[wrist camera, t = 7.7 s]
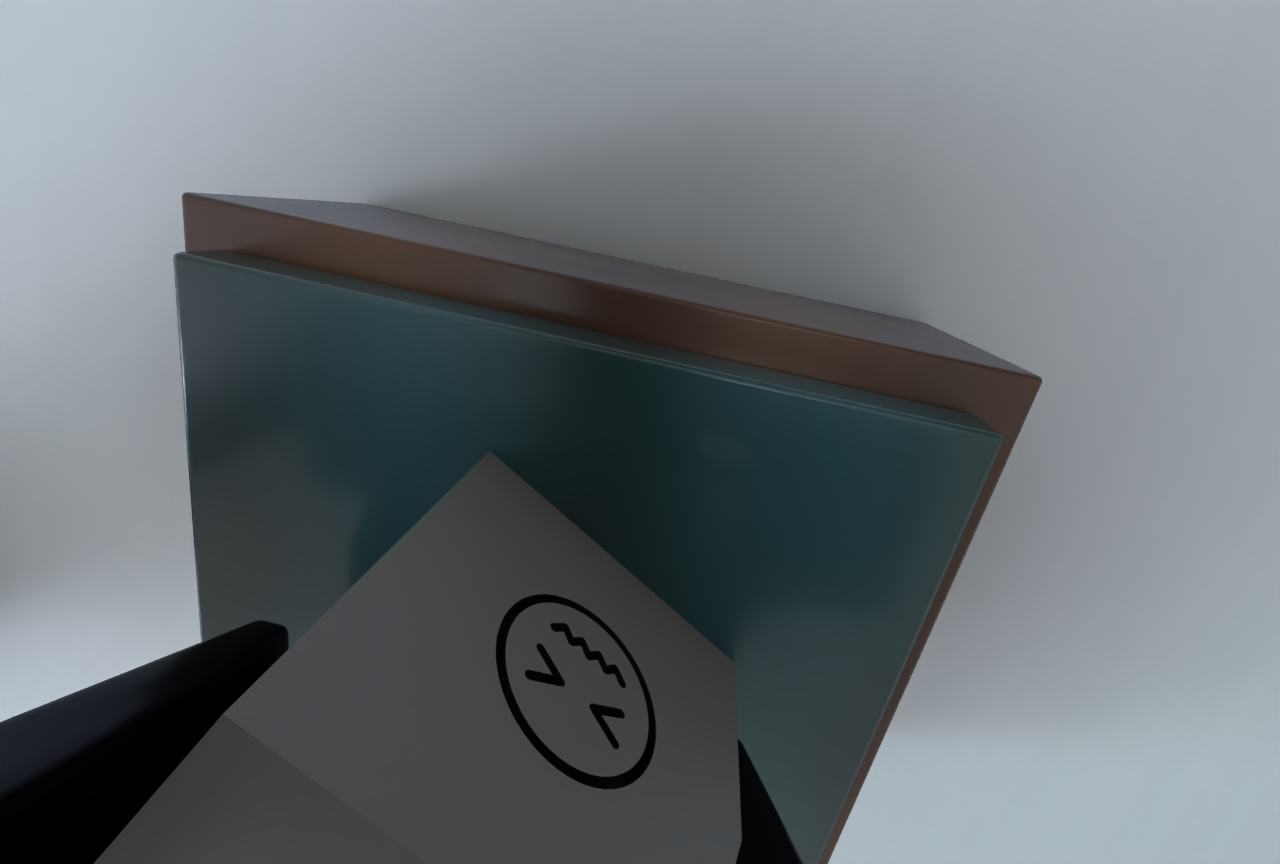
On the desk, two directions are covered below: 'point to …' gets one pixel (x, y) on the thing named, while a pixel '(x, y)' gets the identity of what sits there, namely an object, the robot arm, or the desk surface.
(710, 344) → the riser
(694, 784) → the dice cube
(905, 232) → the desk surface
